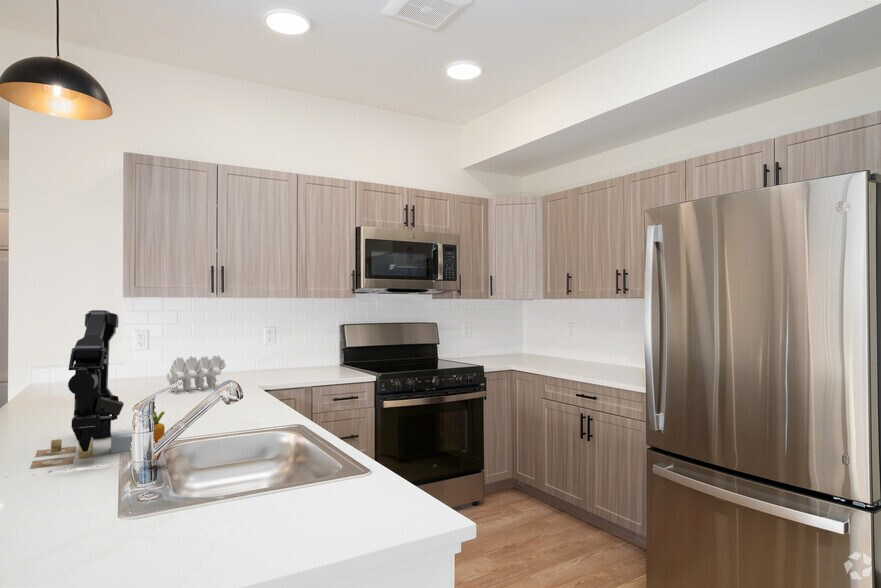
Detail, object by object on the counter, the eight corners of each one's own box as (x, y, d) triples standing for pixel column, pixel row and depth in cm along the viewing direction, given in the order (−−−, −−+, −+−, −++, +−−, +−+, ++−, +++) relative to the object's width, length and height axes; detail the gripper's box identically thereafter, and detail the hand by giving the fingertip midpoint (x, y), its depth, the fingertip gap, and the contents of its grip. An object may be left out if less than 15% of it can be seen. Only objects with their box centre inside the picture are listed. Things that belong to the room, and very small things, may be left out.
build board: (74, 459, 143) (74, 455, 143) (73, 467, 137) (73, 463, 137) (32, 464, 138) (32, 460, 138) (29, 472, 132) (29, 468, 132)
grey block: (134, 448, 155) (135, 431, 155) (135, 453, 150) (136, 436, 150) (110, 451, 152) (111, 434, 152) (110, 456, 147) (111, 438, 147)
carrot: (167, 465, 140) (169, 408, 140) (155, 470, 135) (157, 411, 135) (150, 464, 140) (151, 407, 141) (137, 469, 136) (139, 411, 136)
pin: (92, 458, 145) (93, 436, 145) (92, 461, 143) (92, 438, 143) (78, 459, 143) (79, 437, 144) (77, 462, 141) (78, 440, 141)
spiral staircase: (165, 400, 258) (215, 392, 276) (178, 388, 247) (229, 381, 265) (158, 365, 263) (208, 360, 281) (170, 352, 252) (221, 347, 271)
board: (75, 449, 153) (76, 435, 154) (74, 456, 147) (75, 441, 147) (37, 454, 149) (37, 439, 149) (34, 461, 142) (34, 445, 142)
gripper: (123, 392, 140) (121, 451, 140) (121, 383, 156) (119, 436, 155) (72, 395, 134) (70, 457, 134) (75, 386, 150) (73, 441, 149)
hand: (85, 447), depth 143 cm, fingers open, 9 cm apart
